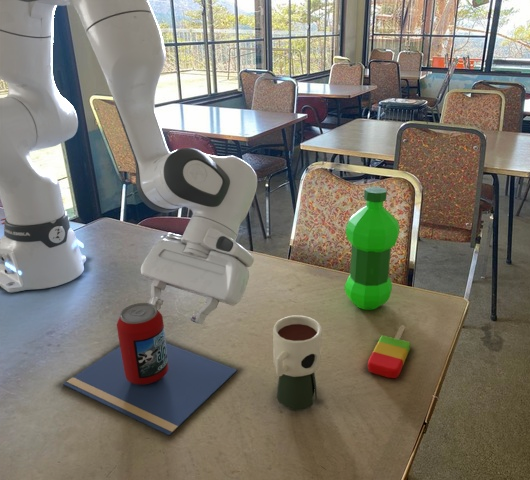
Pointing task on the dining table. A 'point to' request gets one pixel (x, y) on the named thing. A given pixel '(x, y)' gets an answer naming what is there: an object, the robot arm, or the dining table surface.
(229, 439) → the dining table surface
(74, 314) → the dining table surface
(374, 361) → the popsicle
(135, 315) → the beverage can
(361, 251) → the plastic bottle
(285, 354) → the character mug
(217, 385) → the blue book
